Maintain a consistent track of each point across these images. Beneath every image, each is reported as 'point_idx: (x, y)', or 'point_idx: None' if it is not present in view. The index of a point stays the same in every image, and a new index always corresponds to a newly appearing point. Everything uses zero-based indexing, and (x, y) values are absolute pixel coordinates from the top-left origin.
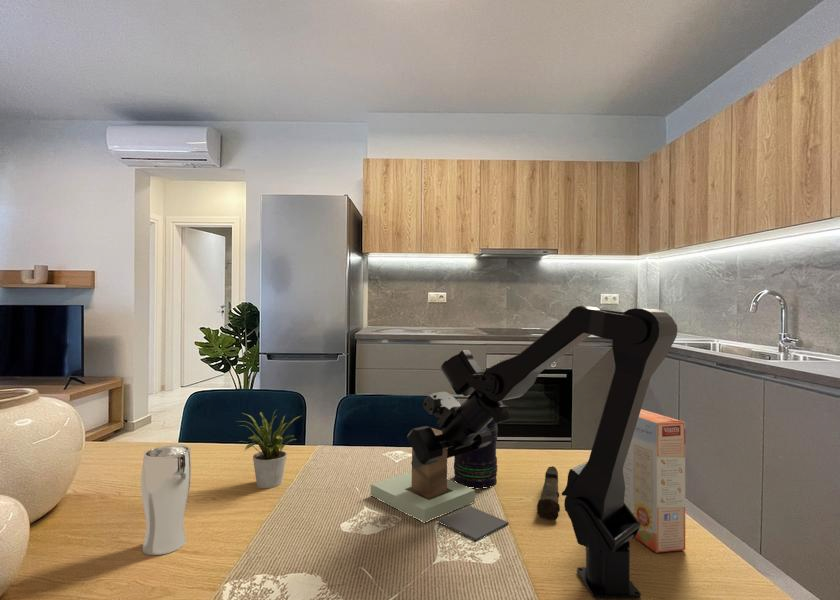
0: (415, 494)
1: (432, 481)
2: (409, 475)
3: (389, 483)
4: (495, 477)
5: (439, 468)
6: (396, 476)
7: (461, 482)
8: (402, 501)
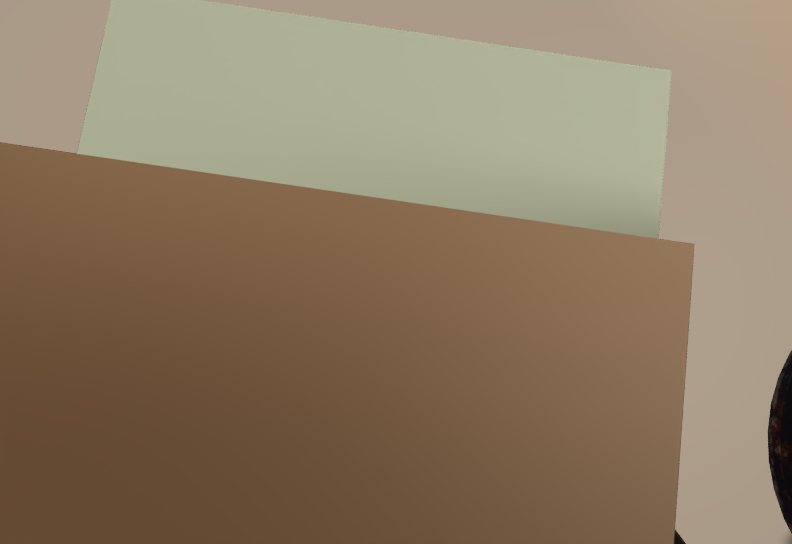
0: None
1: None
2: (478, 100)
3: (223, 89)
4: None
5: None
6: (384, 32)
7: (788, 432)
8: None
